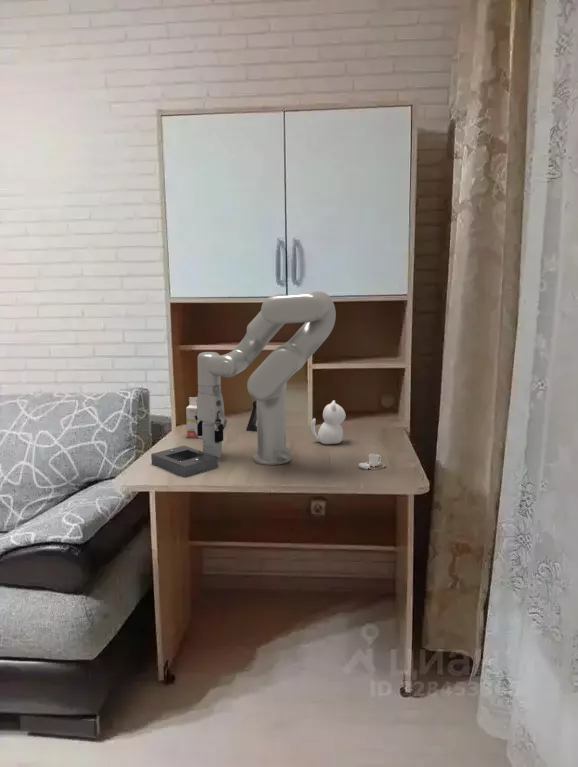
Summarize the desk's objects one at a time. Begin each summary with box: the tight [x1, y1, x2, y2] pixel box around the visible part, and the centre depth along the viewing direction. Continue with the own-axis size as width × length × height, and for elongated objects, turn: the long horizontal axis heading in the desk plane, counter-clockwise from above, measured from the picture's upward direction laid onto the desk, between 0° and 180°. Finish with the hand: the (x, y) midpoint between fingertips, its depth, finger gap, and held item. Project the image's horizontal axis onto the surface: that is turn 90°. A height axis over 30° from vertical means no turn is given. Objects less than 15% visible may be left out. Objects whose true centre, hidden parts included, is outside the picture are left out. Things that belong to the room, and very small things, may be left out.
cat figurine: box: [310, 400, 347, 445], centre depth 242 cm, size 9×12×15 cm
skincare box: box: [202, 421, 223, 459], centre depth 230 cm, size 6×4×12 cm
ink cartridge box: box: [185, 396, 203, 439], centre depth 254 cm, size 9×5×15 cm, turn 84°
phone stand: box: [246, 399, 257, 432], centre depth 262 cm, size 9×6×12 cm, turn 74°
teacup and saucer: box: [358, 453, 383, 470], centre depth 217 cm, size 9×8×4 cm
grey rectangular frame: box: [150, 445, 219, 478], centre depth 221 cm, size 19×13×4 cm
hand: (210, 438), depth 231 cm, fingers open, 9 cm apart
